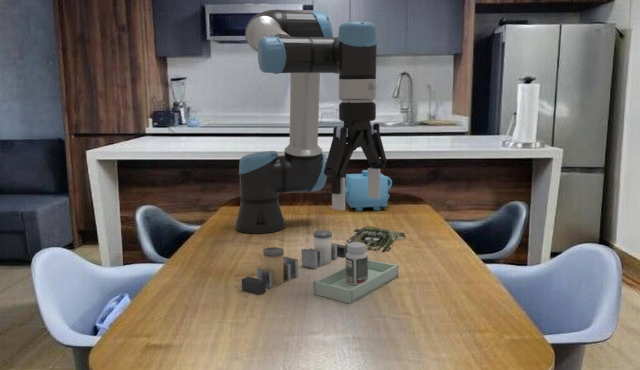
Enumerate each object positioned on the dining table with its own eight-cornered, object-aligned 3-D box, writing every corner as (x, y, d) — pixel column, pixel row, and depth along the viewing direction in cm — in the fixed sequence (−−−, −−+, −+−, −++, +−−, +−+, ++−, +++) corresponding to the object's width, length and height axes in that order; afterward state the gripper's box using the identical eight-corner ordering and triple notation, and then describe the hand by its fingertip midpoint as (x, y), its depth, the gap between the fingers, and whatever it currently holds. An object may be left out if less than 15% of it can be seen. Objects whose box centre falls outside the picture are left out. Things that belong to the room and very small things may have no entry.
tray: (313, 293, 111) (313, 281, 110) (363, 269, 126) (363, 258, 125) (350, 303, 105) (350, 291, 105) (398, 276, 120) (398, 265, 120)
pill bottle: (369, 278, 117) (368, 241, 116) (366, 286, 113) (366, 247, 111) (347, 277, 118) (347, 240, 117) (344, 285, 114) (343, 247, 112)
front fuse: (259, 283, 117) (258, 251, 116) (273, 277, 121) (272, 246, 120) (275, 287, 115) (274, 254, 113) (288, 281, 118) (287, 249, 117)
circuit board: (404, 255, 137) (404, 242, 137) (335, 253, 140) (335, 239, 140) (406, 231, 161) (406, 219, 161) (347, 229, 165) (347, 218, 164)
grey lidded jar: (310, 262, 131) (309, 233, 130) (321, 257, 135) (320, 229, 134) (324, 265, 129) (324, 236, 128) (335, 260, 132) (335, 232, 131)
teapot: (388, 204, 198) (388, 167, 196) (395, 210, 187) (395, 171, 185) (329, 206, 196) (328, 169, 194) (333, 213, 185) (332, 173, 183)
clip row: (241, 289, 113) (241, 271, 113) (332, 252, 139) (332, 237, 139) (259, 294, 110) (258, 276, 110) (348, 255, 136) (348, 240, 136)
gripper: (337, 103, 97) (337, 217, 101) (403, 99, 116) (401, 195, 120) (304, 103, 101) (306, 212, 105) (373, 99, 121) (372, 191, 125)
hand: (357, 203), depth 113 cm, fingers open, 13 cm apart
